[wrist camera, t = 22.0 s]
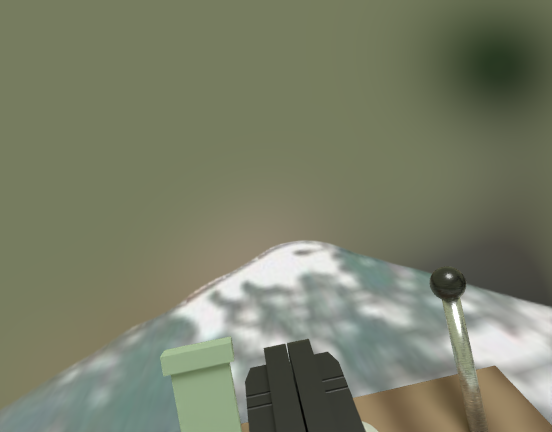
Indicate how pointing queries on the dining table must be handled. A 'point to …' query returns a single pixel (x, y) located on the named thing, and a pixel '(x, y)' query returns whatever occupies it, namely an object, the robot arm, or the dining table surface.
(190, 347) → the sage-green paddle lever
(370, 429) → the ivory push button
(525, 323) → the dining table surface
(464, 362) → the steel toggle lever
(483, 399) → the walnut switch board
